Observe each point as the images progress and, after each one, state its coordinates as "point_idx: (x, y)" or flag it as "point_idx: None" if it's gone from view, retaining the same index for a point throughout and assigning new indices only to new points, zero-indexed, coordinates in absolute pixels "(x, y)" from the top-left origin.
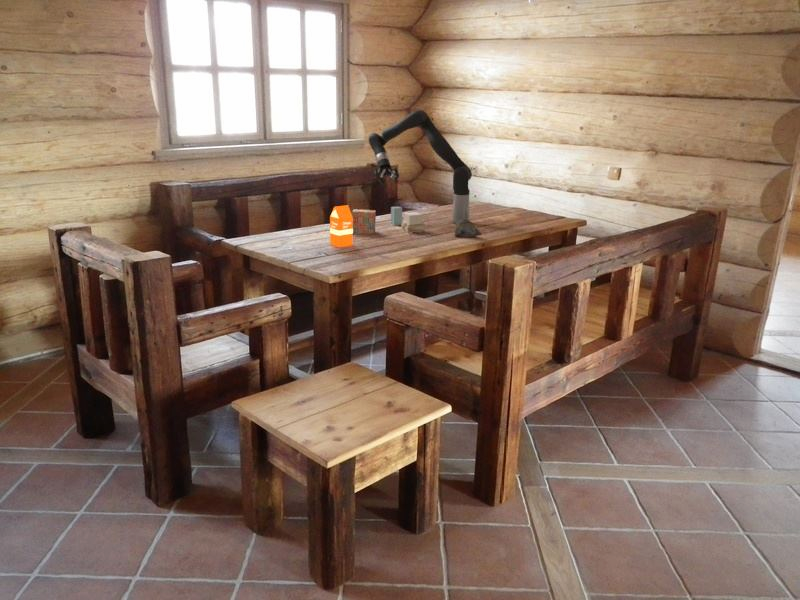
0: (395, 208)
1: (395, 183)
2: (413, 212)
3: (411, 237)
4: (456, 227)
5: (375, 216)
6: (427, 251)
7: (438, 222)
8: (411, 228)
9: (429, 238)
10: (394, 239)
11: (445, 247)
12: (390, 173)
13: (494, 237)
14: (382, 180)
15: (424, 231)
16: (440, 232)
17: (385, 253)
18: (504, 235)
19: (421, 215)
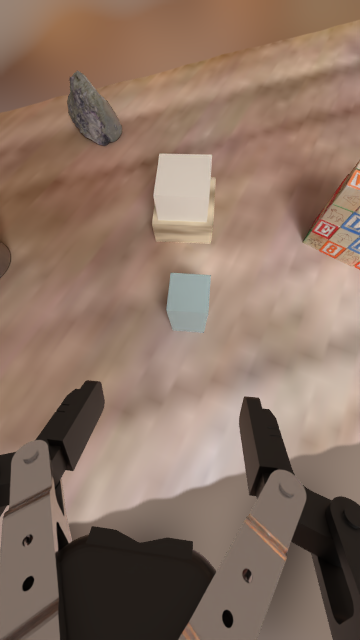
0: (204, 275)
1: (101, 396)
2: (170, 192)
3: (228, 158)
4: (111, 107)
5: (332, 203)
6: (252, 61)
7: (40, 293)
8: None
9: (189, 139)
10: (281, 153)
11: (200, 74)
12: (64, 553)
13: (43, 110)
14: (260, 421)
15: None
16: (125, 180)
17: (346, 67)
18: (8, 118)
19: (164, 156)
